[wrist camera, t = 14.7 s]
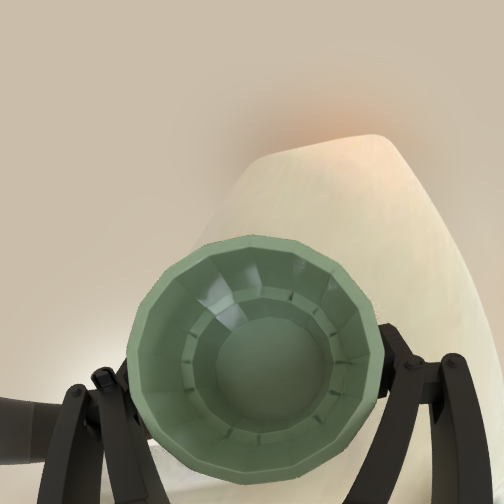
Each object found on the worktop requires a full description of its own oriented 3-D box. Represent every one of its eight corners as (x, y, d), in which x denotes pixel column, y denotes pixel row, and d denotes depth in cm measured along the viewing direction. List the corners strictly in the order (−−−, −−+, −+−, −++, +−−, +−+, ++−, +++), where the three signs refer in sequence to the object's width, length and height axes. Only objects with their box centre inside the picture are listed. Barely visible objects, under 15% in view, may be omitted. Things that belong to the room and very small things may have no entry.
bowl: (188, 414, 18) (106, 431, 9) (220, 293, 22) (167, 223, 13) (322, 444, 16) (349, 499, 6) (348, 314, 20) (391, 253, 11)
